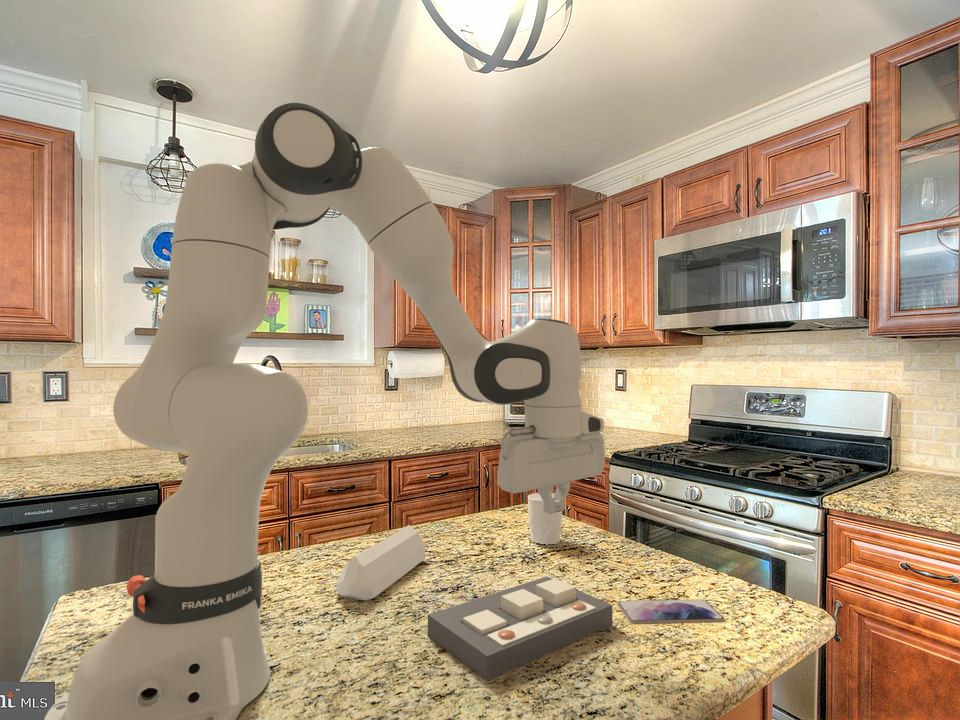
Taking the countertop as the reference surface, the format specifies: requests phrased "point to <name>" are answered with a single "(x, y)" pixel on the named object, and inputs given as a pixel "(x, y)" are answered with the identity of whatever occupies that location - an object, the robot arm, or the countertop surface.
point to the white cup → (543, 521)
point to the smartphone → (669, 611)
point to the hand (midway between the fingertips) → (554, 511)
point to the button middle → (522, 604)
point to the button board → (516, 630)
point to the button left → (484, 622)
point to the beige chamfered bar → (381, 565)
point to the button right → (556, 592)
